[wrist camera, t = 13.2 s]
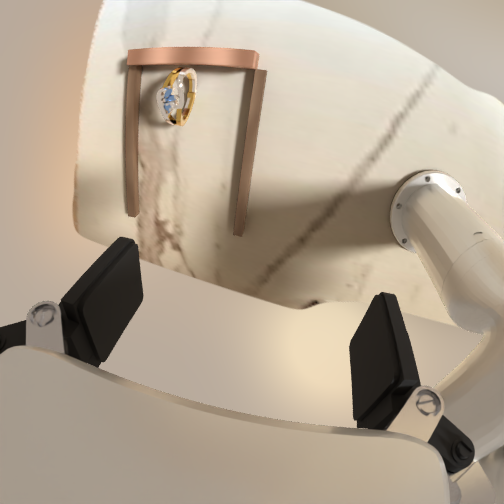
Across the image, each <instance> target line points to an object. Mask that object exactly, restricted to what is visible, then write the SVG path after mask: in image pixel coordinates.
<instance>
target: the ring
mask: <svg viewBox="0 0 504 504" xmlns="http://www.w3.org/2000/svg"><path fill="white" fill-rule="evenodd" d="M185 75H187V77H188V79H189V91H188V93H187V102H186V105H185V108H184V110H183V112H182V108H183V106H184V92H183V79H184V77H185ZM177 77H178V79H177V89H178V95H174V93H173V92H174V90H175V87H173V86H172V85H173V83H174V81H175V79H176V78H177ZM196 90H197V76H196V72H195V70H194V69H192V68H187V67H178V68H176V69H175V70H173V71H172V72H171V73H170V74H169V76H168V77H167V79H166V81H165V83H164V85H163V87H162V88H161V89H160V90H159V91H158V93H157V97H156V98H157V104H158V107H159V109H160V111H161V114H162V116H163V118H164V119H165V120H166V122H168V123H169V124H172V125H178V126H184V125H185V123H186V121H187V119H188V117H189V115H190V112H191V110H192V107H193V103H194V99H195V98H196V95H197V92H196ZM164 93H165V96H164ZM178 98H179V104H178V101H177V99H178ZM174 108H175V109H177V113H176V120H175V119H174V118H173V117H172V116H171V113H172V109H174Z"/></svg>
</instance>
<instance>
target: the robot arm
mask: <svg viewBox="0 0 504 504" xmlns="http://www.w3.org/2000/svg"><path fill="white" fill-rule="evenodd" d="M425 177H426V178H425ZM398 203H399V204H398ZM397 204H398V205H397ZM390 224H391V229H392V231H393V234H394V236H395V237H396V239H397V241H398V242H399V243H400V245H401V246H403V247H404V248H405V249H407V250H409V251H411V252H413V253H417V254H418V256H419V258H420V260H421V262H422V263H423V265H424V267H425V269H426V271H427V273H428V275H429V276H430V278H431V280H432V282H433V284H434V286H435V288H436V290H437V292H438V294H439V296H440V298H441V300H442V302H443V304H444V306H445V308H446V310H447V312H448V314H449V316H450V318H451V319H452V320H453V321H454V323H456V324H457V325H458V326H459V327H461V328H462V329H464V330H467V331H469V332H473V333H477V334H483V335H484V336H483V338H482V341H481V342H480V343H479V344H478V346H477V347H476V348H475V349H474V350H473V351H472V352H471V353H470V354H469V356H468V357H466V359H464V360H463V361H462V362H461V363H460V364H459V365H458V366H457V367H456V368H455V369H453V370H452V371H451V372H450V373H449V374H448V375H447V376H446V377H444V378H443V379H442V380H441V381H440V382H439V383H438V384H436V385H435V386H434V387H433V388H432V387H429V386H421V385H420V379H419V375H418V371H417V366H416V362H415V358H414V354H413V351H412V346H411V343H410V339H409V336H408V333H407V331H406V328H405V324H404V321H403V317H402V314H401V311H400V307H399V304H398V301H397V298H396V296H395V295H394V294H390V293H385V292H381V293H380V294H379V295H375V296H374V298H373V300H372V302H371V304H370V306H369V308H368V310H367V312H366V314H365V316H364V317H363V319H362V321H361V323H360V325H359V327H358V329H357V331H356V332H355V334H354V336H353V338H352V339H351V342H350V346H349V351H350V364H351V380H352V399H353V418H354V420H357V428H344V427H334V426H325V425H315V424H306V423H299V422H292V421H285V420H278V419H272V418H267V417H261V416H256V415H251V414H245V413H241V412H236V411H232V410H227V409H223V408H219V407H215V406H211V405H207V404H203V403H199V402H195V401H192V400H188V399H185V398H181V397H178V396H174V395H171V394H168V393H165V392H162V391H159V390H156V389H153V388H150V387H147V386H144V385H141V384H138V383H135V382H133V381H130V380H127V379H124V378H122V377H119V376H117V375H114V374H112V373H109V372H107V371H104V370H101V369H99V368H98V367H99V365H100V364H101V362H105V361H106V360H107V358H108V356H109V355H110V353H111V351H112V350H113V348H114V346H115V345H116V343H117V341H118V339H119V338H120V336H121V335H122V333H123V331H124V330H125V328H126V327H127V325H128V323H129V321H130V320H131V319H132V317H133V315H134V314H135V312H136V311H137V309H138V307H139V306H140V304H141V302H142V300H143V288H142V281H141V271H140V262H139V251H138V245H137V244H135V241H134V240H133V239H129V238H125V237H119V238H118V239H117V240H116V241H115V242H114V243H113V244H112V245H111V246H110V247H109V248H108V249H107V250H106V251H105V252H104V253H103V254H102V255H101V256H100V257H99V258H98V259H97V260H96V261H95V262H94V263H93V264H92V265H91V267H90V268H89V269H88V270H87V271H86V272H85V273H84V274H83V275H82V276H81V277H80V279H79V280H78V281H77V282H76V283H75V284H74V285H73V287H71V289H70V290H69V291H68V292H67V293H66V294H65V295H64V297H63V298H62V299H61V302H60V304H59V305H57V304H56V303H54V302H52V301H43V302H40V303H37V304H36V305H34V306H33V307H32V308H31V309H30V310H29V312H28V314H27V319H26V320H25V321H21V322H18V323H14V324H10V325H7V326H3V327H0V504H504V240H503V239H502V238H501V237H500V236H499V235H498V234H497V233H496V232H495V231H494V230H493V229H492V228H491V227H490V225H489V224H488V223H487V222H486V221H485V220H484V219H482V218H481V217H480V216H479V215H478V214H477V213H476V212H475V211H474V210H473V209H472V208H471V207H470V206H469V205H468V204H467V199H466V195H465V192H464V190H463V188H462V187H461V185H460V184H459V182H457V181H456V180H455V179H454V178H453V177H451V176H450V175H448V174H447V173H444V172H441V171H435V170H431V171H424V172H421V173H418V174H416V175H414V176H413V177H411V178H410V179H408V180H407V181H406V182H405V183H404V184H403V185H402V186H401V187H400V189H399V190H398V192H397V193H396V195H395V197H394V199H393V202H392V205H391V210H390ZM87 363H88V364H87ZM89 364H90V365H89ZM92 365H93V366H92ZM94 366H95V367H94ZM358 428H368V429H358Z"/></svg>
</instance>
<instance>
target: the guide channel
mask: <svg viewBox="0 0 504 504" xmlns="http://www.w3.org/2000/svg"><path fill="white" fill-rule="evenodd" d="M258 60H259V54H258V53H257V52H256V51H253V50H243V49H231V48H213V47H162V48H144V49H132V50H128V58H127V65H133V66H129V70H128V83H127V99H126V130H125V158H126V189H127V206H128V216H130V217H136V216H137V215H138V214H139V191H138V124H139V102H140V86H141V74H142V65H209V66H225V67H236V68H246V69H255V75H254V82H253V89H252V95H251V102H250V109H249V116H248V124H247V131H246V138H245V146H244V153H243V161H242V168H241V176H240V184H239V192H238V200H237V208H236V216H235V224H234V233H233V235H236V236H241V237H242V235H243V232H244V225H245V218H246V211H247V204H248V196H249V189H250V182H251V176H252V169H253V162H254V155H255V148H256V141H257V135H258V128H259V121H260V115H261V108H262V101H263V95H264V88H265V82H266V75H267V71H266V70H259V69H257V67H258Z"/></svg>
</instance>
